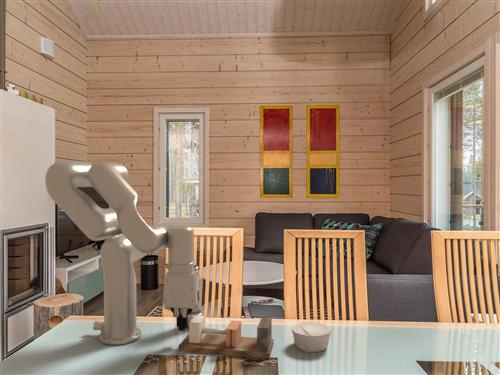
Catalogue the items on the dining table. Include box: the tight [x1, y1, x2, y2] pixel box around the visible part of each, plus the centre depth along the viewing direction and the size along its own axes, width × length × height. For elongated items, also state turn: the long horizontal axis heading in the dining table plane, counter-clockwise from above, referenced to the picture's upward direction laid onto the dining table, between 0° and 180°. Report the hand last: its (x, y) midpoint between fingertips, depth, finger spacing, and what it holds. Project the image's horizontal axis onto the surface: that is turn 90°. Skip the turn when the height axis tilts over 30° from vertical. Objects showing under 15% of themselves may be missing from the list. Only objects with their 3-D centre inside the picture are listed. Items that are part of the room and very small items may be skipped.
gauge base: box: [178, 317, 275, 360], centre depth 121 cm, size 26×10×8 cm, turn 80°
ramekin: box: [291, 321, 332, 353], centre depth 122 cm, size 11×11×5 cm
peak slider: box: [225, 319, 242, 349], centre depth 120 cm, size 3×8×5 cm, turn 170°
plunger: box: [188, 315, 226, 343], centre depth 122 cm, size 10×6×6 cm, turn 80°
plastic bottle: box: [187, 264, 204, 328], centre depth 137 cm, size 6×7×20 cm
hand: (182, 329), depth 123 cm, fingers closed
